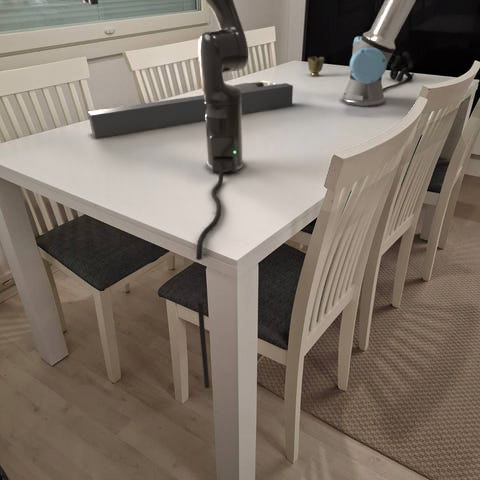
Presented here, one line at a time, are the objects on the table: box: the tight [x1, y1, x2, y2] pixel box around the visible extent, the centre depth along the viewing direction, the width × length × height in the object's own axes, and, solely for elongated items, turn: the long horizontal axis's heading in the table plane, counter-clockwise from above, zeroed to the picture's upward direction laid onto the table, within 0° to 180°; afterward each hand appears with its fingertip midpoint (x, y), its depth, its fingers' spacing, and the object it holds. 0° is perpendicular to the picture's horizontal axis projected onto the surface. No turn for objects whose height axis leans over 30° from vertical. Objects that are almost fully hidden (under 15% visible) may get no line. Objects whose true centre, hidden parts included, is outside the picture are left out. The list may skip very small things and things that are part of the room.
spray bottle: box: [233, 80, 277, 90], centre depth 187 cm, size 3×11×24 cm
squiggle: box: [387, 51, 414, 83], centre depth 198 cm, size 11×10×15 cm
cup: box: [307, 56, 325, 77], centre depth 209 cm, size 8×7×8 cm
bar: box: [87, 82, 294, 139], centre depth 154 cm, size 74×5×7 cm, turn 117°
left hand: (90, 3), depth 125 cm, fingers open, 8 cm apart
